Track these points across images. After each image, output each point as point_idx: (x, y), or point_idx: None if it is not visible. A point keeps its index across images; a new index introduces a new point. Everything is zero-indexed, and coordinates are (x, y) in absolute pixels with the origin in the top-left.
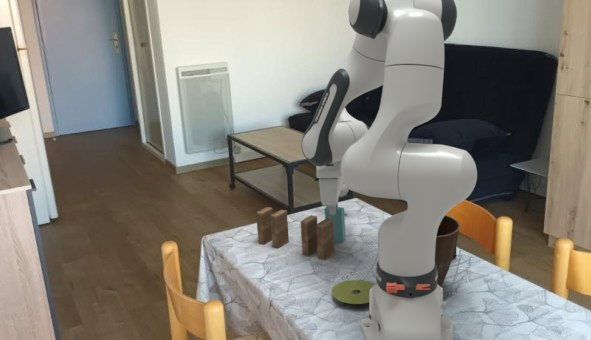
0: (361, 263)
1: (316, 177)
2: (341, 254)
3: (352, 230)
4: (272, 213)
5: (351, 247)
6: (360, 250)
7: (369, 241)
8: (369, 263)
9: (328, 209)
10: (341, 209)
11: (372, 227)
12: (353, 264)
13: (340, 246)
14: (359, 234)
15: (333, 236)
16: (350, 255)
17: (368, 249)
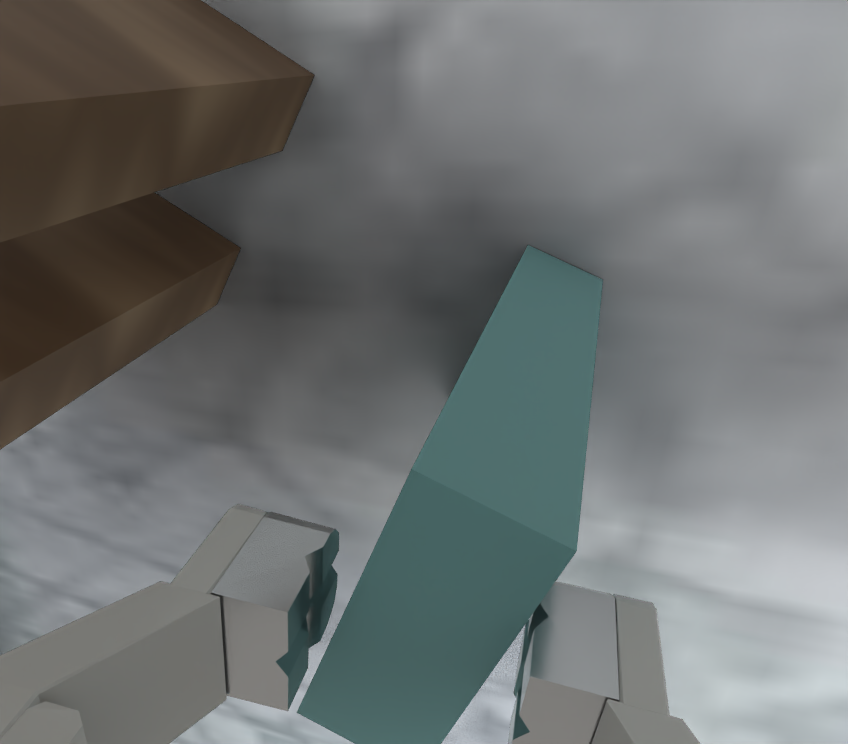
0: (93, 477)
1: None
2: (217, 362)
3: (787, 531)
4: None
5: (360, 457)
6: (303, 510)
7: None
8: (104, 522)
9: (384, 530)
10: (338, 724)
11: (809, 694)
12: (67, 425)
13: (382, 372)
14: (654, 567)
15: (91, 383)
16: (207, 427)
17: None
